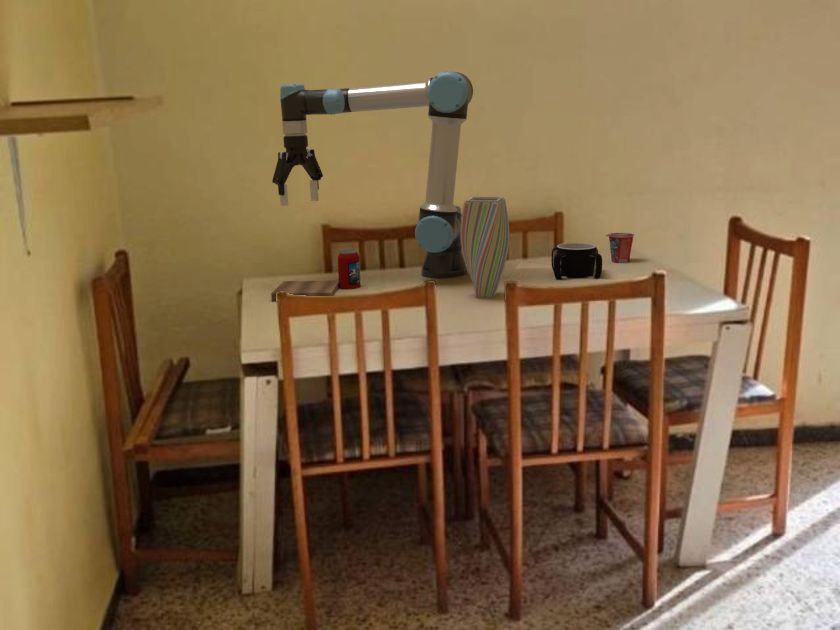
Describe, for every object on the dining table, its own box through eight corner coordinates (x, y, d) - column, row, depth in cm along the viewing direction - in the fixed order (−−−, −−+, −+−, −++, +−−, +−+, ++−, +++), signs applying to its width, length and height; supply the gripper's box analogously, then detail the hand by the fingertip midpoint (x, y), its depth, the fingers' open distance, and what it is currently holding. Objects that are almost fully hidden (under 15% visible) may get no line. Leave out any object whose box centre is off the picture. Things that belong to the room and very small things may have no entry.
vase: (511, 298, 263) (511, 195, 256) (505, 308, 250) (505, 201, 243) (466, 296, 266) (465, 195, 259) (458, 307, 253) (456, 201, 246)
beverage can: (357, 291, 276) (355, 253, 273) (336, 291, 278) (334, 253, 275) (363, 287, 283) (361, 249, 280) (342, 286, 284) (340, 249, 281)
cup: (616, 266, 306) (617, 231, 303) (638, 269, 300) (639, 234, 297) (600, 270, 300) (601, 235, 297) (621, 273, 294) (622, 237, 291)
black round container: (551, 277, 290) (552, 241, 287) (602, 278, 287) (603, 241, 284) (548, 288, 275) (548, 249, 272) (601, 289, 271) (602, 250, 269)
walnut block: (340, 289, 283) (339, 280, 282) (331, 302, 265) (331, 292, 264) (283, 290, 284) (283, 281, 283) (271, 303, 266) (271, 293, 265)
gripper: (314, 132, 290) (318, 198, 295) (257, 137, 271) (262, 207, 276) (331, 132, 286) (335, 199, 291) (274, 137, 266) (279, 208, 272)
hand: (299, 203), depth 283 cm, fingers open, 13 cm apart
